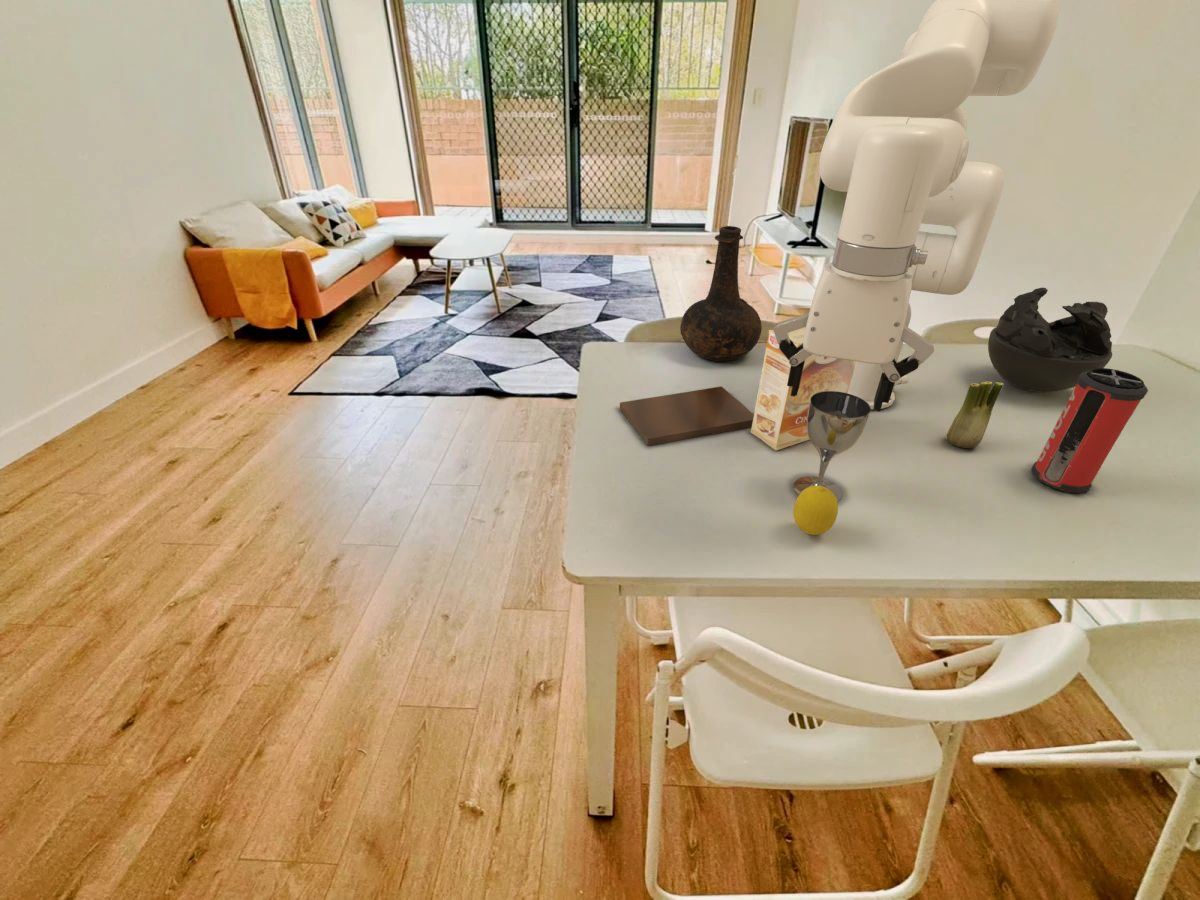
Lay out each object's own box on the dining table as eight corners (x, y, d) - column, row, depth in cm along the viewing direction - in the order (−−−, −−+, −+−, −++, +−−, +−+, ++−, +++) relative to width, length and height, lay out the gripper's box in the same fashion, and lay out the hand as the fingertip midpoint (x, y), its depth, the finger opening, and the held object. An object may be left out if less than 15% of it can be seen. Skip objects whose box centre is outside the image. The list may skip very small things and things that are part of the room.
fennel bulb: (977, 440, 98) (1004, 378, 92) (983, 455, 95) (1011, 391, 88) (940, 435, 100) (964, 373, 94) (945, 449, 96) (970, 386, 90)
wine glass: (783, 476, 89) (801, 392, 81) (831, 473, 90) (854, 390, 82) (802, 507, 83) (824, 419, 75) (854, 504, 83) (881, 416, 75)
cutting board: (720, 392, 114) (721, 386, 113) (758, 425, 103) (759, 418, 102) (619, 409, 108) (619, 402, 107) (647, 446, 97) (647, 438, 96)
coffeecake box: (776, 451, 95) (798, 344, 85) (748, 432, 101) (766, 329, 90) (839, 431, 101) (867, 327, 91) (810, 414, 106) (833, 314, 96)
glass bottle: (770, 353, 131) (793, 227, 116) (728, 377, 120) (747, 241, 105) (707, 334, 141) (720, 215, 126) (663, 354, 130) (672, 227, 115)
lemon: (832, 549, 75) (847, 502, 71) (790, 543, 76) (801, 496, 72) (827, 523, 80) (840, 477, 75) (787, 518, 81) (797, 472, 76)
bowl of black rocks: (1104, 417, 106) (1158, 321, 95) (984, 401, 111) (1023, 308, 101) (1067, 374, 122) (1111, 288, 111) (964, 362, 127) (996, 278, 117)
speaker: (1091, 500, 84) (1156, 393, 74) (1030, 484, 88) (1085, 380, 78) (1086, 475, 90) (1146, 372, 80) (1029, 461, 93) (1080, 361, 83)
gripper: (959, 257, 60) (910, 398, 69) (792, 242, 66) (768, 374, 75) (966, 276, 54) (912, 427, 64) (782, 258, 60) (758, 399, 69)
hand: (834, 398), depth 69 cm, fingers open, 9 cm apart
